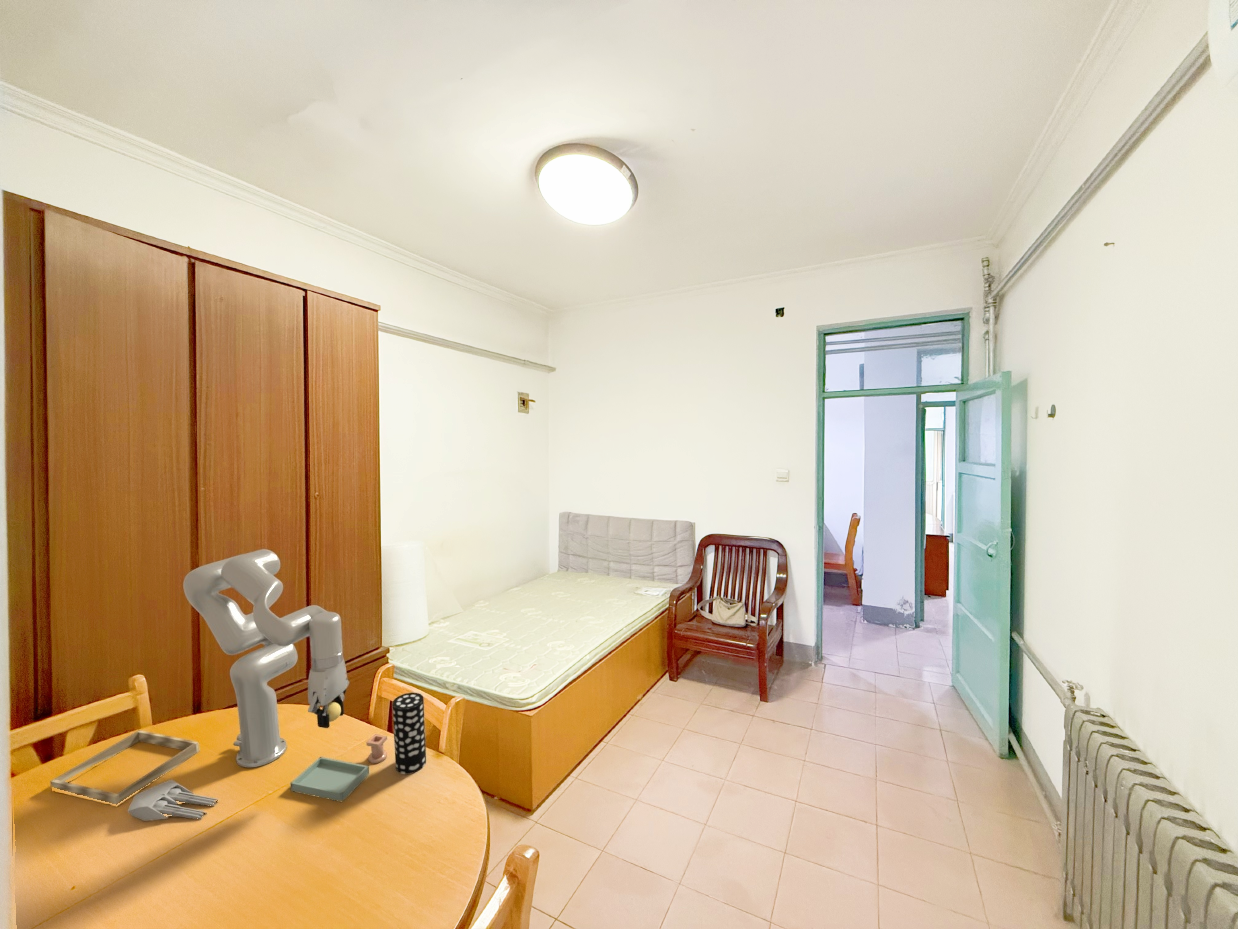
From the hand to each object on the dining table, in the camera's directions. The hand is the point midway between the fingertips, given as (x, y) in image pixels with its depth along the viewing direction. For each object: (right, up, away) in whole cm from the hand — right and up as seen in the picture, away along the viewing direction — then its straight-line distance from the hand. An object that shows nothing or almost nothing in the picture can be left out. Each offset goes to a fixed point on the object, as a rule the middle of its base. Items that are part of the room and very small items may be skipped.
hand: (331, 720), depth 154 cm
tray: (-1, -18, +2) cm, 18 cm away
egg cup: (+8, -17, +12) cm, 22 cm away
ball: (0, 0, 0) cm, 0 cm away
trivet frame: (-60, -17, +5) cm, 62 cm away
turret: (-37, -20, -8) cm, 42 cm away
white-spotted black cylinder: (+18, -17, +10) cm, 27 cm away
